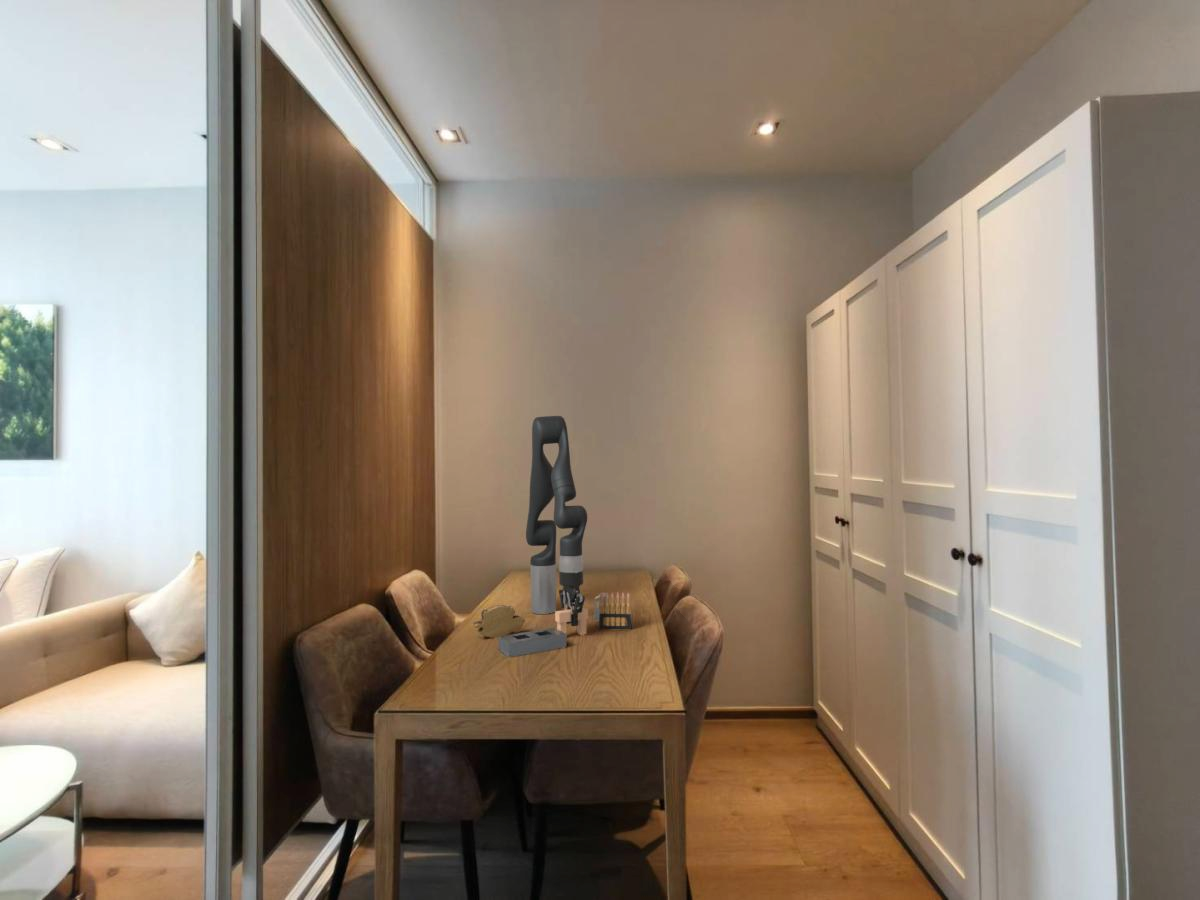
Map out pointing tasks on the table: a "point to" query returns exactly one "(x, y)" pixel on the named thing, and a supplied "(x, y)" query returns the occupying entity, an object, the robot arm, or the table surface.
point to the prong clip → (565, 616)
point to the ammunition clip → (621, 613)
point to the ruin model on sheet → (596, 606)
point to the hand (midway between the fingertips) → (571, 624)
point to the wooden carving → (499, 621)
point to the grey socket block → (532, 642)
